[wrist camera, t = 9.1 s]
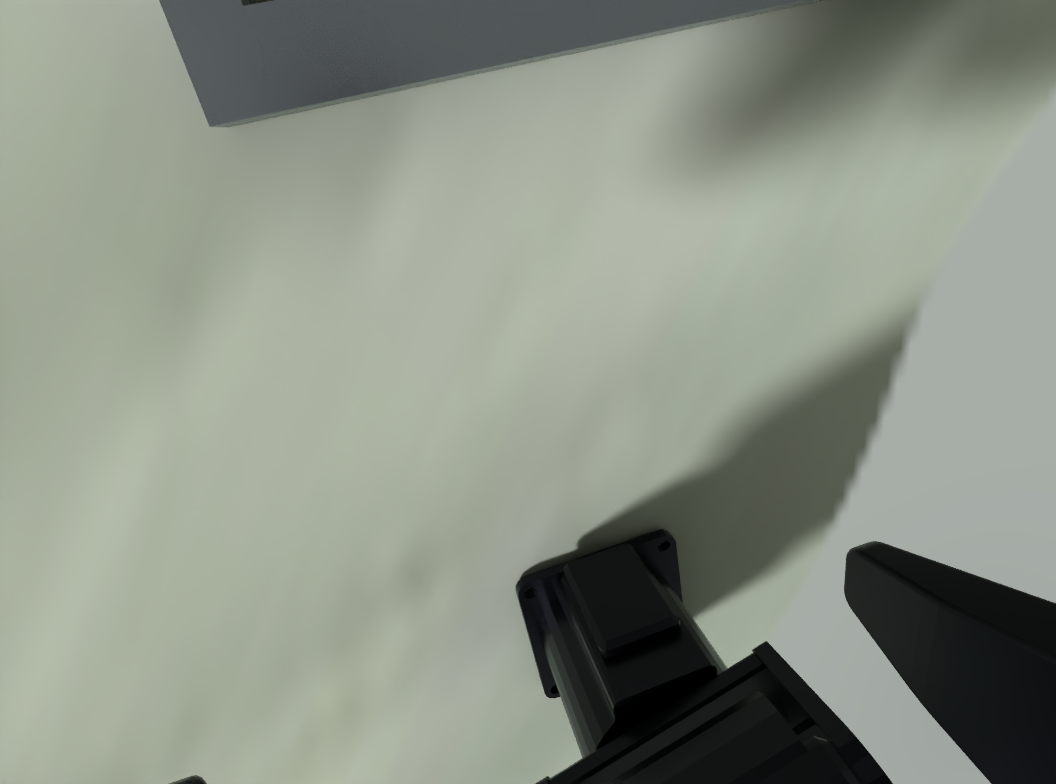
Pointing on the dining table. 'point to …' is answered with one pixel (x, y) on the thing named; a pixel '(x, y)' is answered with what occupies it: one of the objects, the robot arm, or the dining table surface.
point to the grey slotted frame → (398, 43)
